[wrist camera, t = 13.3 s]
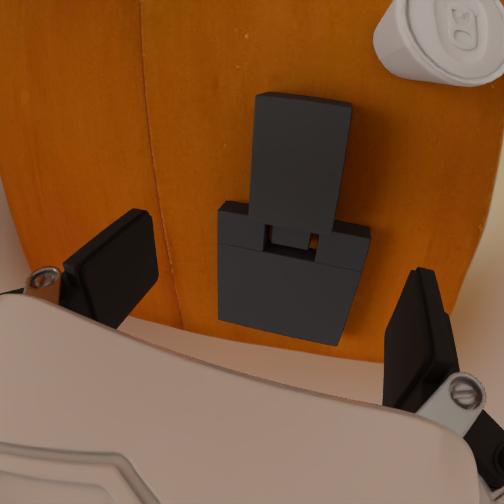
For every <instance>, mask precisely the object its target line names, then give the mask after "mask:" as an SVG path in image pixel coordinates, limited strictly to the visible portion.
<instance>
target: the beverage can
mask: <svg viewBox="0 0 504 504" xmlns="http://www.w3.org/2000/svg"><path fill="white" fill-rule="evenodd" d="M373 45H374V49H375V52H376V54H377V56H378V58H379V60H380V61H381V63H382V64H383V65H384V67H385V68H386V69H387V70H388V71H390V72H391V73H392V74H394V75H396V76H398V77H400V78H404V79H408V80H417V81H426V82H434V83H441V84H448V85H454V86H465V87H474V86H479V85H484V84H486V83H489V82H492V81H494V80H495V79H497V78H499V77H500V76H502V74H503V73H504V7H503V5H502V4H501V2H500V1H499V0H393V2H392V3H391V5H390V6H389V8H388V10H387V11H386V13H385V14H384V16H383V17H382V19H381V21H380V22H379V24H378V25H377V27H376V29H375V32H374V35H373Z"/></svg>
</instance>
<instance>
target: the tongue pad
mask: <svg viewBox="0 0 504 504" xmlns="http://www.w3.org/2000/svg"><path fill="white" fill-rule="evenodd" d="M351 116H352V104H351V103H348V102H342V101H336V100H330V99H324V98H317V97H310V96H303V95H295V94H286V93H276V92H266V93H262V94H259V95H256V98H255V114H254V130H253V147H252V164H251V181H250V198H249V215H248V221H251V222H257V223H262V224H267V225H273V230H272V240H271V243H274V244H279V245H284V246H290V247H295V248H300V249H305V250H308V248H309V244H310V240H311V234H312V233H315V234H320V235H325V236H331V234H332V229H333V224H334V219H335V213H336V208H337V203H338V197H339V192H340V186H341V181H342V175H343V169H344V163H345V156H346V150H347V144H348V137H349V130H350V123H351Z"/></svg>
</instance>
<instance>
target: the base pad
mask: <svg viewBox="0 0 504 504" xmlns="http://www.w3.org/2000/svg"><path fill="white" fill-rule="evenodd" d="M248 215H249V204H243V203H237V202H231V201H226V202H225V203H224V204H223V205H222V206H221V207H220V208H219V209H218V320H222V321H226V322H230V323H234V324H238V325H242V326H246V327H250V328H254V329H258V330H262V331H266V332H271V333H275V334H279V335H284V336H288V337H293V338H297V339H302V340H307V341H312V342H316V343H321V344H326V345H331V346H337V345H338V342H339V340H340V337H341V334H342V331H343V328H344V326H345V323H346V320H347V317H348V314H349V311H350V308H351V305H352V302H353V299H354V295H355V292H356V289H357V286H358V283H359V279H360V276H361V273H362V269H363V266H364V263H365V259H366V256H367V252H368V249H369V245H370V241H371V235H370V228H369V227H365V226H360V225H355V224H350V223H345V222H341V221H336V220H334V224H333V229H332V234H331V236H325V235H319V240H318V246H317V250H316V249H311V248H308V250H305V249H300V248H295V247H290V246H284V245H279V244H274V243H271V241H270V240H268V239H269V228H270V225H267V224H262V223H257V222H251V221H248Z"/></svg>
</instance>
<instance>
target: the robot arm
mask: <svg viewBox="0 0 504 504" xmlns="http://www.w3.org/2000/svg"><path fill="white" fill-rule="evenodd" d="M63 267H64V270H65V271H64V272H63V273H61V271H60V270H59V268H57V267H53V266H47V267H43V268H40V269H38V270H36V271H34V272H33V273H31V274H30V276H29V277H28V278H27V280H26V283H25V286H24V288H21V289H17V290H13V291H9V292H5V293H1V294H0V504H504V430H503V429H502V428H501V427H500V426H499V425H498V424H497V423H496V422H495V421H494V420H493V419H492V418H491V417H490V416H489V415H488V414H487V413H486V412H485V411H484V410H483V408H484V406H485V403H486V392H485V389H484V387H483V385H482V383H481V382H480V381H479V380H478V379H477V378H476V377H474V376H473V375H471V374H469V373H466V372H460V370H459V364H458V358H457V352H456V348H455V342H454V337H453V333H452V328H451V324H450V319H449V316H448V314H447V313H446V312H444V308H443V304H442V299H441V295H440V291H439V288H438V284H437V280H436V276H435V273H434V271H433V270H430V269H425V268H421V267H417V269H416V270H411V271H410V273H409V276H408V278H407V281H406V283H405V286H404V288H403V291H402V293H401V296H400V298H399V301H398V303H397V305H396V308H395V310H394V312H393V315H392V317H391V319H390V321H389V324H388V326H387V328H386V331H385V337H384V384H383V402H382V406H381V405H377V404H372V403H366V402H361V401H356V400H351V399H346V398H342V397H337V396H333V395H328V394H324V393H319V392H314V391H310V390H306V389H302V388H297V387H293V386H289V385H285V384H281V383H277V382H273V381H270V380H266V379H262V378H258V377H255V376H252V375H248V374H245V373H241V372H238V371H234V370H231V369H227V368H224V367H221V366H218V365H214V364H211V363H208V362H205V361H202V360H199V359H196V358H193V357H189V356H187V355H183V354H181V353H177V352H175V351H172V350H169V349H166V348H163V347H161V346H158V345H155V344H152V343H150V342H147V341H144V340H142V339H139V338H136V337H134V336H131V335H129V334H126V333H124V332H121V331H119V330H116V329H117V328H118V327H119V325H120V324H121V323H122V322H123V321H124V319H125V318H126V317H127V316H128V315H129V313H130V312H131V311H132V310H133V309H134V307H135V306H136V305H137V304H138V303H139V302H140V300H141V299H142V298H143V297H144V296H145V294H146V293H147V292H148V291H149V290H150V289H151V287H152V286H153V285H154V284H155V283H156V281H157V279H158V275H159V272H158V265H157V257H156V249H155V240H154V231H153V222H152V217H151V216H150V215H149V213H148V212H147V211H146V210H141V209H135V208H133V209H131V210H130V211H128V212H127V213H126V214H124V215H123V216H122V217H120V218H119V219H118V220H116V221H115V222H114V223H112V224H111V225H110V226H108V227H107V228H106V229H104V230H103V231H102V232H101V233H99V234H98V235H97V236H95V237H94V238H93V239H92V240H90V241H89V242H88V243H87V244H85V245H84V246H83V247H82V248H80V249H79V250H78V251H77V252H75V253H74V254H73V255H72V256H71V257H69V258H68V259H67V260H66V261H65V262H63Z"/></svg>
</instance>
